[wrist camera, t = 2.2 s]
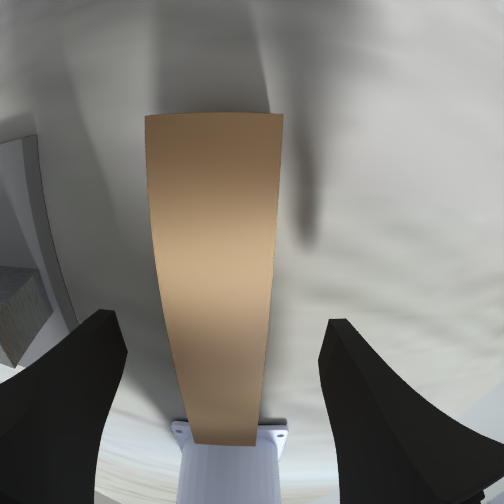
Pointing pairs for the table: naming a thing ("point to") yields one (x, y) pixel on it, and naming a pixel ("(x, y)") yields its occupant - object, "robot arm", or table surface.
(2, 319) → the stand
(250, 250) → the bar
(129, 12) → the table surface
